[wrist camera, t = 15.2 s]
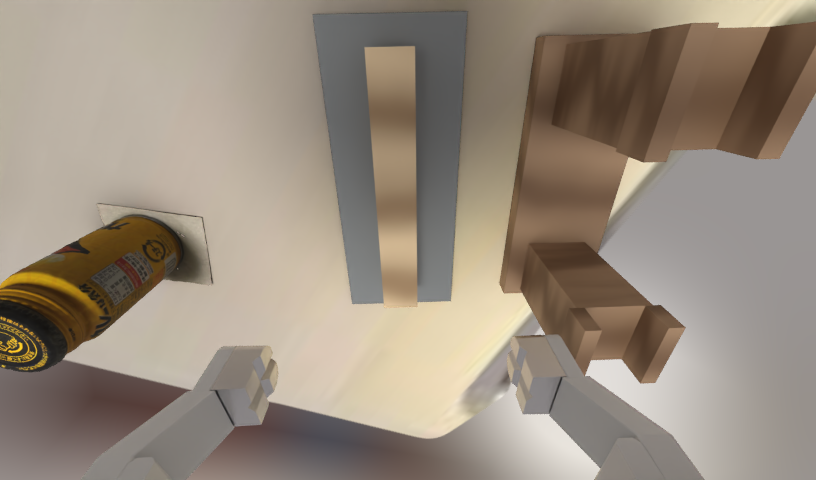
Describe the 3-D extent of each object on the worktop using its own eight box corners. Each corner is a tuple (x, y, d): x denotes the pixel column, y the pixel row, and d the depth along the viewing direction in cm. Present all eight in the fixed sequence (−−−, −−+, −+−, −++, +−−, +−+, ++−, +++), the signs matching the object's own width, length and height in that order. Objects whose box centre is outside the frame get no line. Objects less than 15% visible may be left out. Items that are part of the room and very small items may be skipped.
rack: (536, 37, 21) (669, 6, 11) (651, 35, 21) (893, 2, 11) (499, 283, 31) (549, 391, 21) (577, 281, 32) (666, 387, 21)
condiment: (98, 202, 26) (-102, 290, 16) (202, 216, 27) (79, 309, 17) (121, 272, 30) (-30, 383, 19) (213, 283, 31) (117, 394, 20)
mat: (314, 15, 20) (312, 14, 20) (465, 12, 21) (467, 11, 20) (353, 300, 32) (352, 304, 32) (449, 297, 32) (450, 301, 32)
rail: (368, 50, 21) (364, 47, 18) (413, 49, 21) (415, 46, 18) (385, 287, 31) (384, 307, 28) (415, 286, 31) (417, 306, 28)
